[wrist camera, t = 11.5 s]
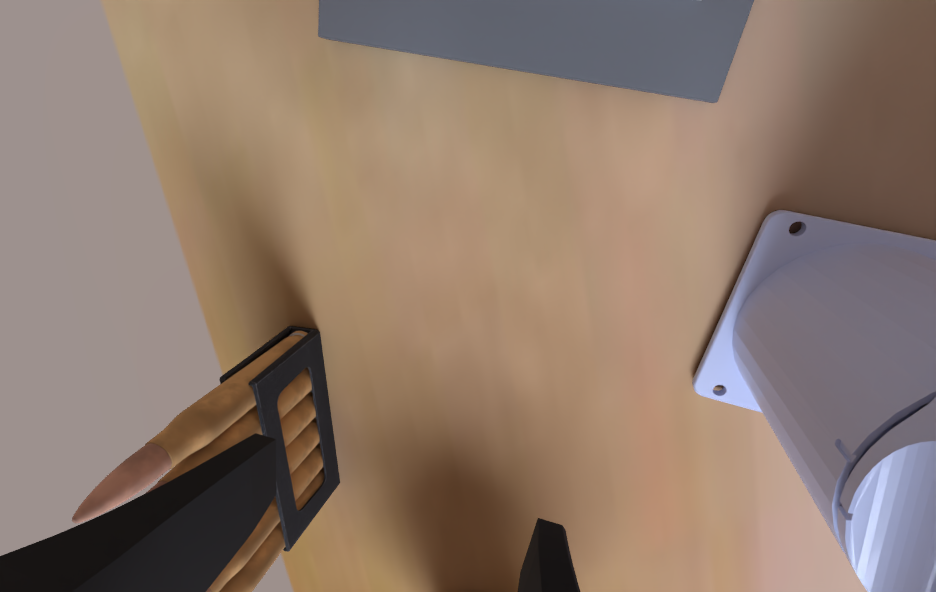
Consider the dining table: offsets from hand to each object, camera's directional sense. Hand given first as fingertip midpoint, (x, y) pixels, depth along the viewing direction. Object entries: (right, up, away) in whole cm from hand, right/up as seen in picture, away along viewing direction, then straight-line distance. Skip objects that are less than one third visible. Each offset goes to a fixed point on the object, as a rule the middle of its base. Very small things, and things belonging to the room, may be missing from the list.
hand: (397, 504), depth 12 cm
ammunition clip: (-7, -1, +14) cm, 16 cm away
